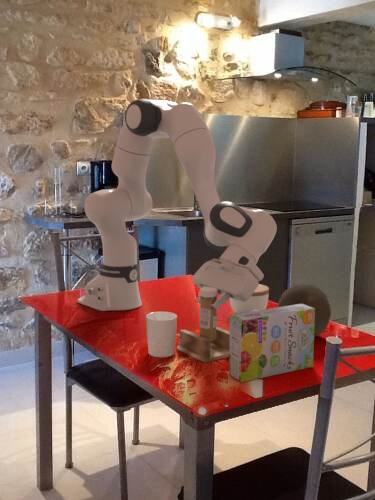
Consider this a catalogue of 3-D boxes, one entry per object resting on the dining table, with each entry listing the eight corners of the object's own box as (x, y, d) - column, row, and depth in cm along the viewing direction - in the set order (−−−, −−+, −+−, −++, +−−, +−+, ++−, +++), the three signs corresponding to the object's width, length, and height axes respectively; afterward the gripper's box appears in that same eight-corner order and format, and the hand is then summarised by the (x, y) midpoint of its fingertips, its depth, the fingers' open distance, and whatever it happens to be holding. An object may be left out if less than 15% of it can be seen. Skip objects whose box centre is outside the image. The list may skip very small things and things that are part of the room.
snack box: (299, 360, 146) (301, 302, 143) (313, 367, 141) (316, 308, 138) (227, 375, 136) (229, 313, 133) (240, 383, 131) (242, 319, 128)
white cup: (149, 359, 145) (149, 321, 143) (143, 349, 152) (143, 312, 151) (180, 357, 147) (180, 319, 145) (172, 346, 154) (172, 310, 153)
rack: (176, 349, 153) (177, 330, 152) (209, 341, 159) (209, 322, 158) (204, 362, 143) (205, 342, 142) (238, 353, 150) (238, 334, 149)
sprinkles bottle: (219, 339, 150) (221, 289, 148) (205, 342, 147) (206, 291, 145) (209, 334, 154) (211, 285, 151) (195, 337, 151) (196, 287, 149)
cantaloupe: (310, 326, 173) (313, 277, 170) (339, 341, 160) (342, 288, 157) (269, 331, 168) (271, 281, 165) (295, 347, 155) (297, 293, 152)
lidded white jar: (250, 307, 193) (251, 275, 191) (276, 317, 183) (277, 282, 181) (220, 313, 186) (221, 279, 184) (245, 323, 176) (246, 288, 174)
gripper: (205, 250, 159) (176, 290, 155) (256, 262, 143) (225, 306, 139) (217, 264, 162) (189, 303, 158) (268, 277, 146) (238, 321, 142)
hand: (206, 305), depth 149 cm, fingers closed on sprinkles bottle, 4 cm apart
